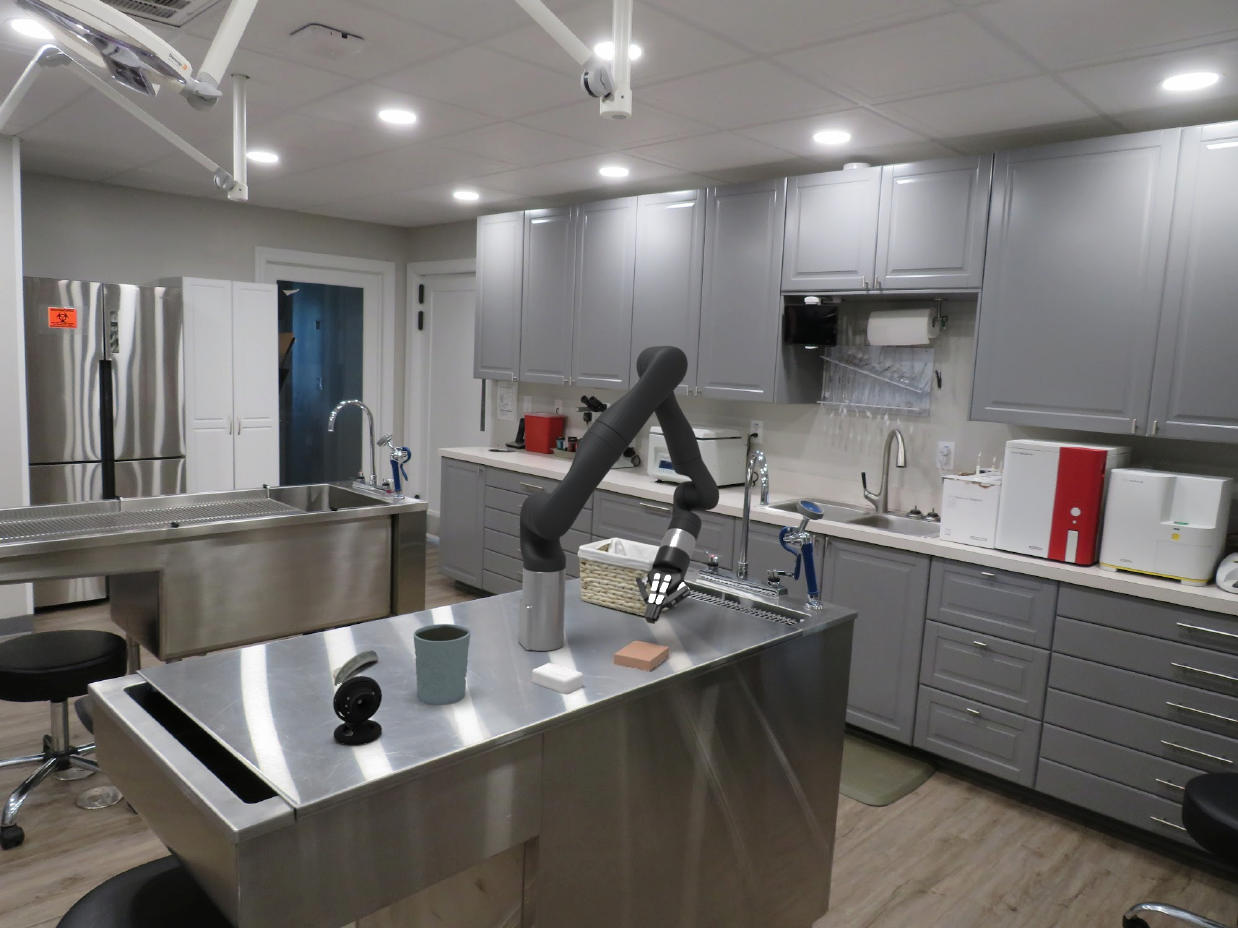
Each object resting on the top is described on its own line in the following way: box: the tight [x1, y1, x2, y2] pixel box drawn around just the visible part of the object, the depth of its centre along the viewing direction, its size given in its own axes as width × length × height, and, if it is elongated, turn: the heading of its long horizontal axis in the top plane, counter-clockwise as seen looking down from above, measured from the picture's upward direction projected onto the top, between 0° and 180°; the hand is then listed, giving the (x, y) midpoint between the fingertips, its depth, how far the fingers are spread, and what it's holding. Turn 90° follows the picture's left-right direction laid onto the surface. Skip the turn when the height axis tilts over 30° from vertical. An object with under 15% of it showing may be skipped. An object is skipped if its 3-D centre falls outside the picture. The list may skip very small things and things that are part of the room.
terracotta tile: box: [613, 639, 670, 672], centre depth 174 cm, size 3×8×10 cm
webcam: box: [332, 675, 383, 746], centre depth 135 cm, size 8×8×10 cm
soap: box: [531, 662, 584, 695], centre depth 159 cm, size 9×6×3 cm, turn 53°
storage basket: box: [577, 537, 678, 617], centre depth 213 cm, size 24×16×15 cm
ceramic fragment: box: [333, 649, 380, 686], centre depth 162 cm, size 14×5×4 cm, turn 161°
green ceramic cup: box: [413, 623, 471, 706], centre depth 152 cm, size 10×10×12 cm
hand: (649, 621), depth 176 cm, fingers closed
